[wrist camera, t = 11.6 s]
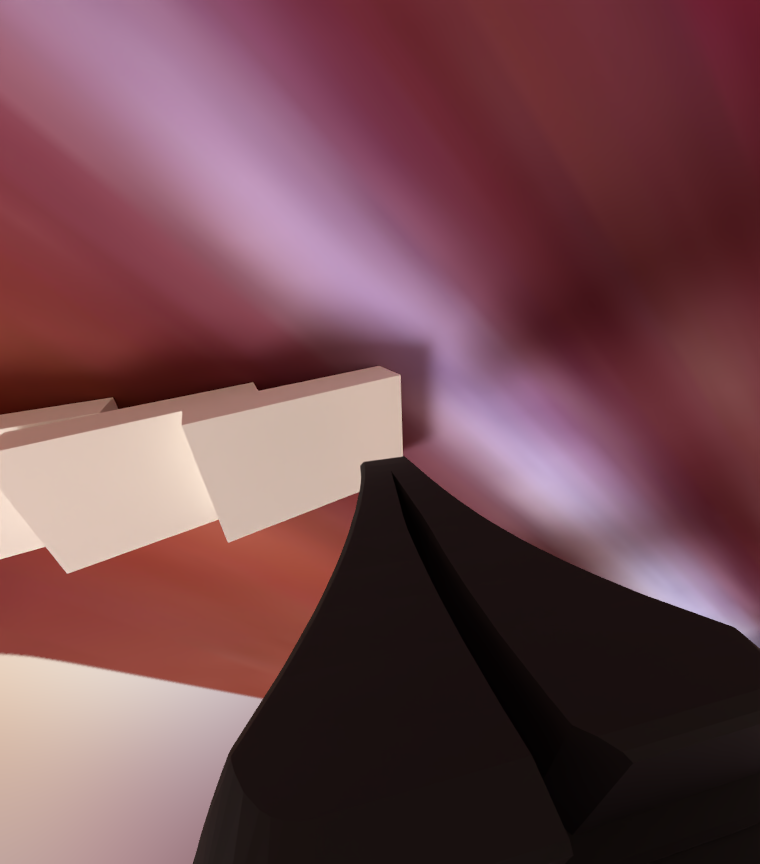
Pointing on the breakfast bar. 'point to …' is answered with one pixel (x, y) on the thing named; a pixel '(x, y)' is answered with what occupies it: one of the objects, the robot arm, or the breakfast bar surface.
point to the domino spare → (293, 445)
